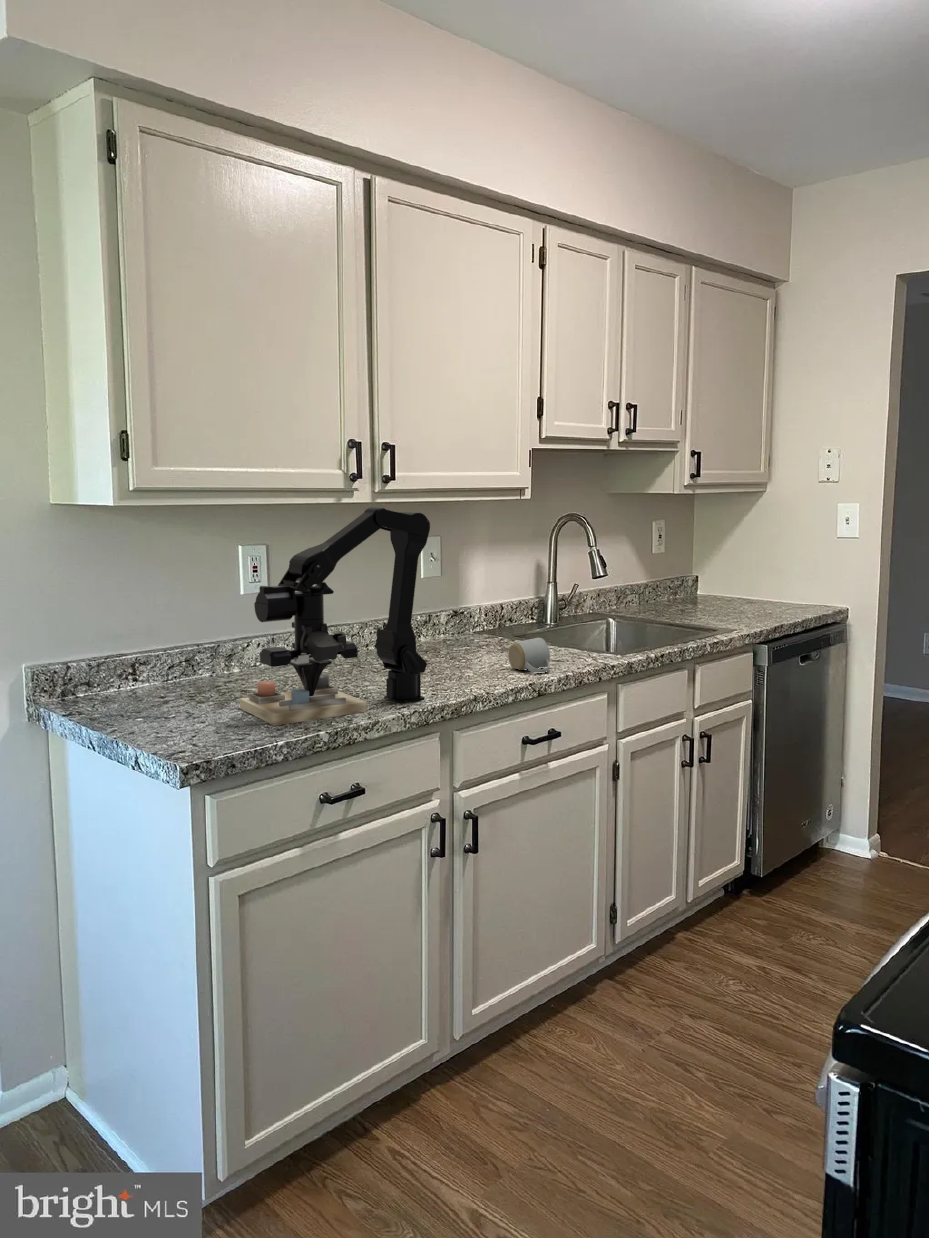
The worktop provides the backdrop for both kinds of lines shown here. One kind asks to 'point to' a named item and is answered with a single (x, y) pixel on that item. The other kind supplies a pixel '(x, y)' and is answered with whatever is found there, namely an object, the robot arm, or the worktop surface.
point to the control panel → (302, 706)
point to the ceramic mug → (530, 655)
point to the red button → (266, 688)
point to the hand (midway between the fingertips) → (310, 695)
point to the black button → (323, 681)
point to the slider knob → (299, 696)
